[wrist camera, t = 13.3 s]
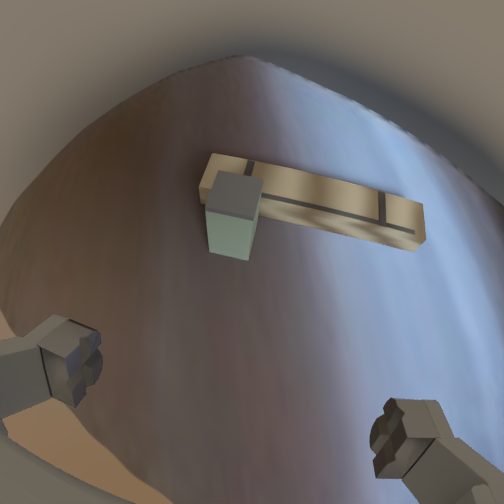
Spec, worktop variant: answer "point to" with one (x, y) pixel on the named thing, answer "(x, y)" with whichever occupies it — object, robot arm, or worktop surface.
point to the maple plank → (326, 203)
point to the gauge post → (233, 214)
